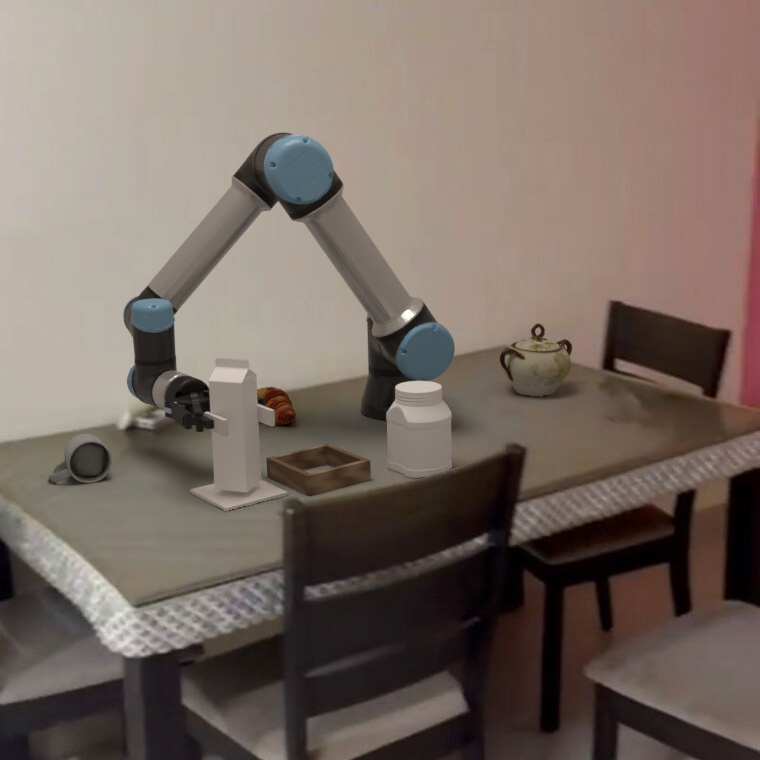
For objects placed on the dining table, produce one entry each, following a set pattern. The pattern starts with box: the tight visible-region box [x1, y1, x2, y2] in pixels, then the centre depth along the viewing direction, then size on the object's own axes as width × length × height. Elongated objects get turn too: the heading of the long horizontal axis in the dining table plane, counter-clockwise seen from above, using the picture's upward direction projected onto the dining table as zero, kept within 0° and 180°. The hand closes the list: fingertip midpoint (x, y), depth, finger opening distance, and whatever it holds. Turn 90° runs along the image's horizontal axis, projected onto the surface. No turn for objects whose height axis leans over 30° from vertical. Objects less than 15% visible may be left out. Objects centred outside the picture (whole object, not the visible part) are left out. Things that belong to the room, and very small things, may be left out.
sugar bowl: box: [499, 323, 573, 397], centre depth 270 cm, size 20×15×15 cm
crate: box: [266, 443, 372, 497], centre depth 218 cm, size 13×13×4 cm
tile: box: [189, 479, 289, 512], centre depth 211 cm, size 12×12×1 cm
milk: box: [208, 357, 262, 492], centre depth 208 cm, size 6×6×22 cm
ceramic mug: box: [47, 433, 113, 484], centre depth 221 cm, size 11×8×8 cm
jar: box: [386, 380, 453, 479], centre depth 221 cm, size 12×10×15 cm
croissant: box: [257, 386, 297, 425], centre depth 256 cm, size 21×10×8 cm, turn 36°
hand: (249, 423), depth 204 cm, fingers closed on milk, 8 cm apart
